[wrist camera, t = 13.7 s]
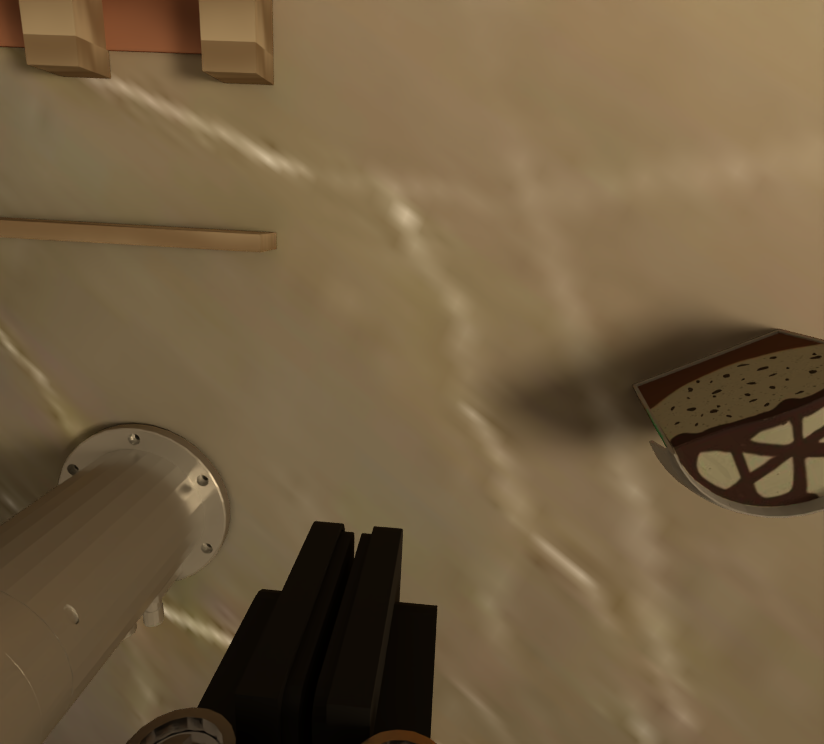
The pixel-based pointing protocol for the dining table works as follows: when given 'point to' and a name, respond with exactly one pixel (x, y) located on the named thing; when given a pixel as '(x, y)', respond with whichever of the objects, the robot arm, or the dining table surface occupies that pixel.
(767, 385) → the food container
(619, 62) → the dining table surface
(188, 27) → the channel
